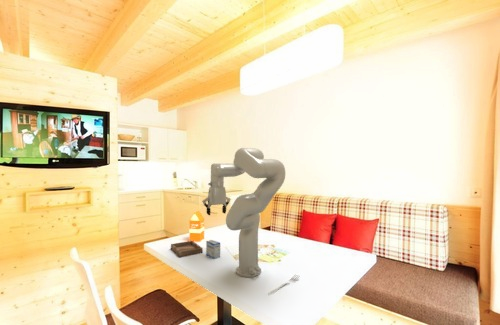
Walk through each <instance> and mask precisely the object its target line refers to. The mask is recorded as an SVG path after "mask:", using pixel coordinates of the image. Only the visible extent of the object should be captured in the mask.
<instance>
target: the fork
mask: <svg viewBox="0 0 500 325" xmlns="http://www.w3.org/2000/svg"><path fill="white" fill-rule="evenodd" d="M299 278H300V276H299V275H297V274H294V275H293V276H292V277H291V278H290V279H289V280H288V281H289V282H285V283H282V284H281V285H279V286H278V287H277V288H275V289H273V290H272V291H270V292H268V293H267V296H270V295H273V294H275V293H276V292H278V291H279V290H280V289H281V288H283V286H285V285H291V283H294V284H295V283H296V282H297V280H298V279H299ZM290 282H291V283H290Z"/></svg>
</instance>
